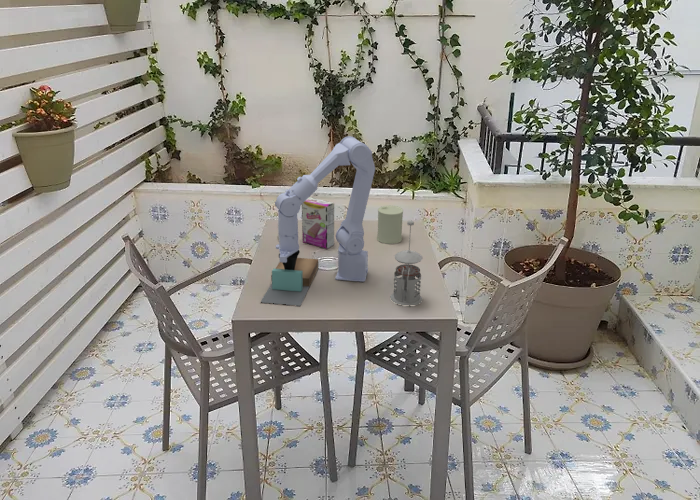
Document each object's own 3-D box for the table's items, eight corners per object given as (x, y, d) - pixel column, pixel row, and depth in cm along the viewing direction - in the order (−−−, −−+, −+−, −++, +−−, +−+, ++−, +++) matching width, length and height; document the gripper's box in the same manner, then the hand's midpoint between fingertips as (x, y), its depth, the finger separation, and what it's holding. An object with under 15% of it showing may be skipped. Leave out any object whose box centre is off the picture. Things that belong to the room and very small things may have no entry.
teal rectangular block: (302, 270, 172) (300, 273, 170) (302, 289, 174) (301, 291, 172) (273, 268, 173) (271, 270, 171) (274, 286, 175) (272, 289, 173)
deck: (318, 267, 188) (318, 259, 187) (309, 287, 176) (309, 278, 175) (283, 264, 190) (282, 256, 189) (271, 284, 177) (271, 275, 176)
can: (385, 232, 217) (386, 202, 212) (406, 238, 212) (408, 207, 207) (372, 240, 210) (372, 209, 205) (393, 246, 205) (394, 214, 200)
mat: (309, 287, 176) (309, 286, 176) (300, 306, 165) (300, 305, 165) (271, 284, 177) (271, 283, 177) (260, 302, 167) (260, 302, 166)
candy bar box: (301, 242, 207) (300, 200, 200) (309, 238, 211) (309, 196, 204) (327, 249, 201) (326, 206, 195) (335, 245, 205) (334, 202, 199)
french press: (424, 292, 173) (430, 215, 163) (420, 311, 163) (425, 231, 153) (392, 289, 175) (396, 213, 165) (386, 307, 165) (389, 227, 155)
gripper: (281, 223, 177) (283, 262, 182) (268, 241, 164) (270, 283, 169) (304, 224, 176) (305, 264, 181) (292, 243, 163) (293, 285, 168)
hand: (290, 273), depth 175 cm, fingers closed
